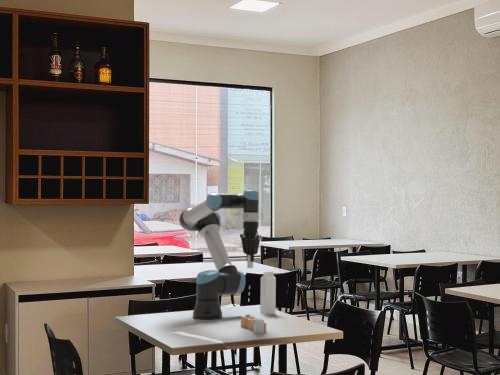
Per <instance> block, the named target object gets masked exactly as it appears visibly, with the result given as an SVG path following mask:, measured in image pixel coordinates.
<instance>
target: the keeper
mask: <svg viewBox="0 0 500 375" xmlns="http://www.w3.org/2000/svg"><path fill="white" fill-rule="evenodd" d="M264 321H265V320H264V319H263V318H261V317H258V318H256V317H255V319H251V322H253V323H254V331H253V333H254V334H255V335H259V334H264V333H265V332H264Z"/></svg>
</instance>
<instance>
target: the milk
mask: <svg viewBox="0 0 500 375" xmlns="http://www.w3.org/2000/svg"><path fill="white" fill-rule="evenodd" d="M276 278H277V277H276V276H275V275H274V272H273V271H264V272H263V275H262V276H261V277H260V296H259V297H260V302H259V303H260V305H259V307H260V308H259V310H260V311H259V312H260V314H264V315H275V314H276V307H277V306H276V301H277V299H276V296H277V295H276V293H277V289H276V288H277V279H276Z"/></svg>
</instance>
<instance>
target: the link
mask: <svg viewBox="0 0 500 375" xmlns="http://www.w3.org/2000/svg"><path fill="white" fill-rule="evenodd" d="M248 315H249V317H246V315H240V326H241V327H244V328H246V329H248V330H251V331H253V332H254V323H253V322H251V319H255V318H256V317H255V316H254V315H251V314H248ZM264 333H267V323H266V322H264Z"/></svg>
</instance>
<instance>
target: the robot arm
mask: <svg viewBox="0 0 500 375" xmlns="http://www.w3.org/2000/svg"><path fill="white" fill-rule="evenodd" d="M259 199H260V198H259V191H258V190H256V189H255V190H254V189H253V190H252V189H249V190H248V189H247V190H246V189H245V190H244V191H243V193H216V192H215V193H210V194H208V195H207V197H206V199H205V200H204V201H202V202H200V203H199V204H197V205H195V206H193V207H192V208H190V207H189V208H186V209H184V210H183V211H182V212H181V213H180V214H179V218H178V220H179V224H180V226H181V228H183V229H184V230H186V231H190V232H198V234H199V236H200V237H201V238H204V242H205V243H206V245H207V246H206V247H207V249H208V251H209V254H210V256H211V259H212V261H213V263H214V267H215V269H211V270H204V271H201V272H198V274H197V275H196V281H195V283H196V291H195V292H196V294H195V295H196V296H195V297H196V301H195V305H194V309H193V311H192V317H193V318H194V319H197V320H198V319H199V320H217V319H221V318H223V310H222V308H221V304H220V296H227V295H228V296H229V295H233V296H235V295H238V294H241V293H243V291H244V289H245V287H246V276H245V273H244V272H243V271H241V270H238V268H237V266H236V265H235V264H233V263H232V262H231V259H230V256H229V254H228V251H227V249H226V247H225V244H224V242H223V240H222V237H221V234H220V232H219V231H220V230H221V229H220V228H221V225H222V218H221V216H220V213H219V212H217V211H219V210H221V209H222V210H223V209H225V210H226V209H227V210H228V209H234V210H236V209H243V214H242V216H243V221H242V224H243V225H242V229H243V231H242V232H243V233H240V234H239V237H240V241H241V247H242V252H243V254H245V255H246V263H247V265H246V266H247V269H254V262H255V255H257V254H258V252H259V247H260V242H261V239H262V235H261V234H259V232H258V228H259Z"/></svg>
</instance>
